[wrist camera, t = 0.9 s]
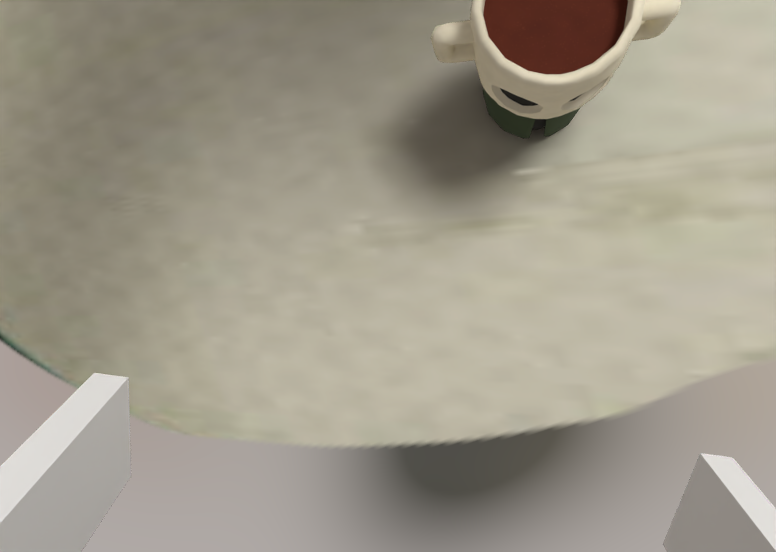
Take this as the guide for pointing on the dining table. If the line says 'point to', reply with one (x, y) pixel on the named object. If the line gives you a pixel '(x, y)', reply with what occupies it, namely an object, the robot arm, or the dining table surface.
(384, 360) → the dining table surface
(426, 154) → the dining table surface
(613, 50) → the character mug
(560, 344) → the dining table surface
